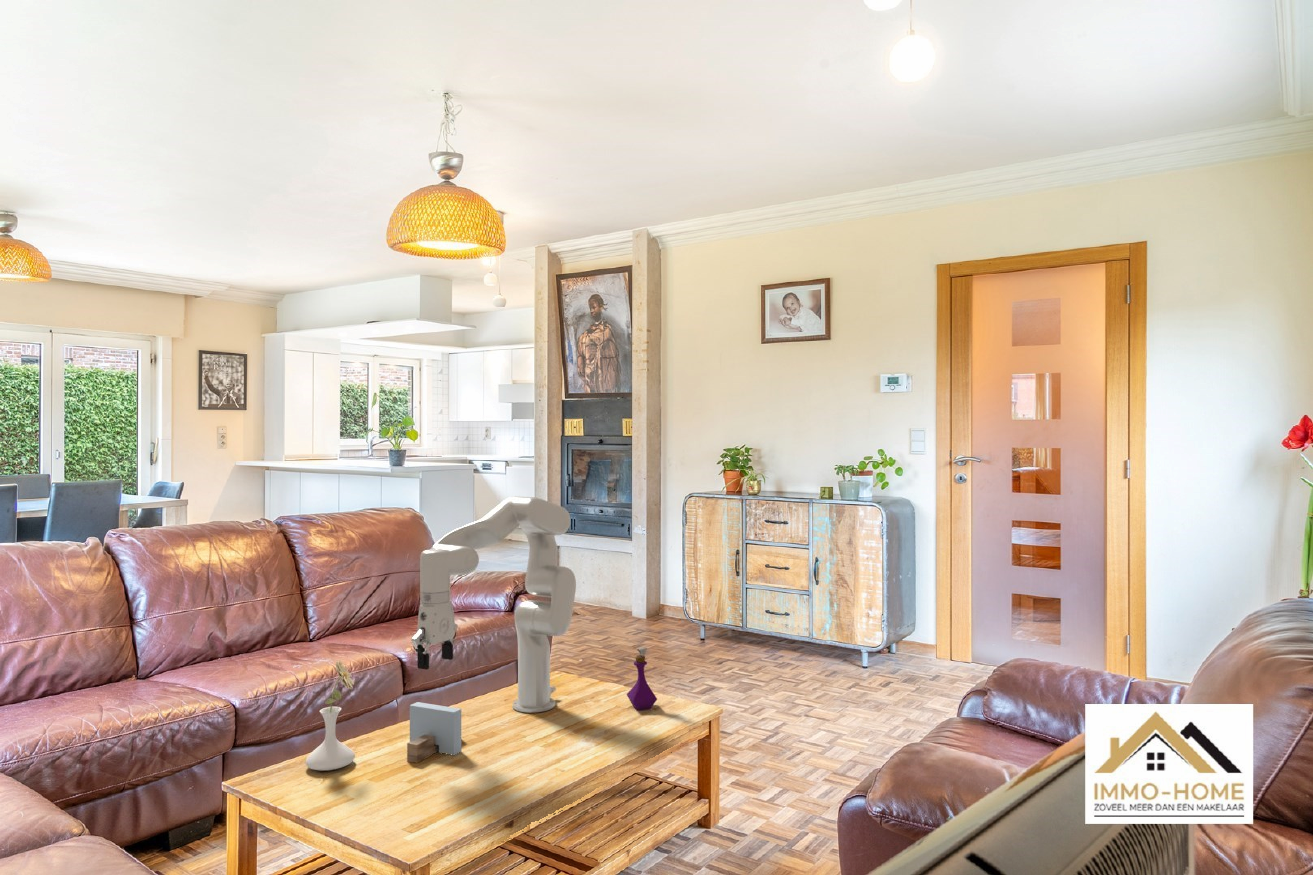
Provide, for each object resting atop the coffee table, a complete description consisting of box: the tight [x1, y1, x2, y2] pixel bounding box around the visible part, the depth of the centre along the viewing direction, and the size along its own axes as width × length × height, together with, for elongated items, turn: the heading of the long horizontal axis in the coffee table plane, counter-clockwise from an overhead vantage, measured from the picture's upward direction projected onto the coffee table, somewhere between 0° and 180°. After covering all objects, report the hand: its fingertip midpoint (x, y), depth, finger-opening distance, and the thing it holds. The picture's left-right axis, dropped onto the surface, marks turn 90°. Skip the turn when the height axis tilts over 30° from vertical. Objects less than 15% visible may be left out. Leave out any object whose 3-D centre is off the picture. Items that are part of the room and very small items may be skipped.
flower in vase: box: [304, 660, 356, 771], centre depth 206 cm, size 13×11×25 cm
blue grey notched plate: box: [409, 701, 462, 756], centre depth 216 cm, size 3×14×11 cm, turn 67°
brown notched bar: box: [406, 735, 439, 764], centre depth 216 cm, size 18×3×4 cm, turn 157°
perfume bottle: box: [626, 647, 658, 711], centre depth 250 cm, size 8×8×18 cm
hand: (435, 663), depth 216 cm, fingers open, 9 cm apart
